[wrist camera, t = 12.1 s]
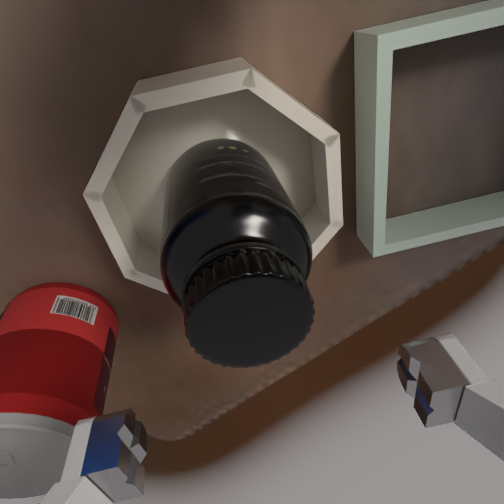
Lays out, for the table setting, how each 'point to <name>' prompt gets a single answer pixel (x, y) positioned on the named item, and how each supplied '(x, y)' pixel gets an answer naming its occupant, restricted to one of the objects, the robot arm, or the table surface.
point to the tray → (378, 128)
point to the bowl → (202, 129)
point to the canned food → (50, 380)
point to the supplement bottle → (235, 255)
